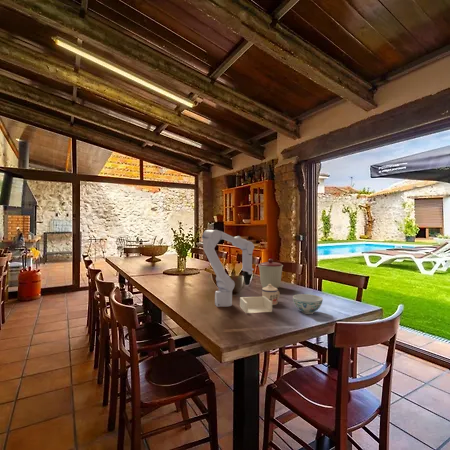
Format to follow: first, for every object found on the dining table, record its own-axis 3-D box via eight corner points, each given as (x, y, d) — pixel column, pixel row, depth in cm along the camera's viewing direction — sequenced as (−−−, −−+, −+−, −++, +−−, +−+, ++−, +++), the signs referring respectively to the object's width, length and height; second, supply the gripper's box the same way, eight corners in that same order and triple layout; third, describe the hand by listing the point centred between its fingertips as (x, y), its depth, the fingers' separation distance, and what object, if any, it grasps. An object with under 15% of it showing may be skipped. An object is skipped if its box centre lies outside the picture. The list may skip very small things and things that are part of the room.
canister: (280, 285, 219) (280, 257, 219) (285, 290, 201) (285, 260, 201) (257, 284, 219) (257, 257, 219) (259, 290, 201) (259, 260, 201)
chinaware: (316, 308, 157) (316, 294, 157) (327, 316, 142) (327, 301, 142) (289, 308, 157) (289, 294, 157) (297, 317, 142) (297, 301, 142)
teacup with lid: (269, 307, 158) (269, 286, 158) (258, 304, 165) (258, 283, 165) (284, 304, 164) (285, 284, 164) (273, 301, 172) (273, 281, 172)
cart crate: (245, 315, 144) (245, 303, 144) (239, 308, 156) (239, 297, 156) (272, 313, 147) (272, 301, 147) (264, 307, 159) (264, 296, 159)
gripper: (257, 262, 162) (257, 287, 162) (250, 259, 176) (250, 282, 176) (245, 263, 161) (245, 287, 161) (239, 260, 175) (239, 282, 175)
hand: (247, 284), depth 168 cm, fingers closed
